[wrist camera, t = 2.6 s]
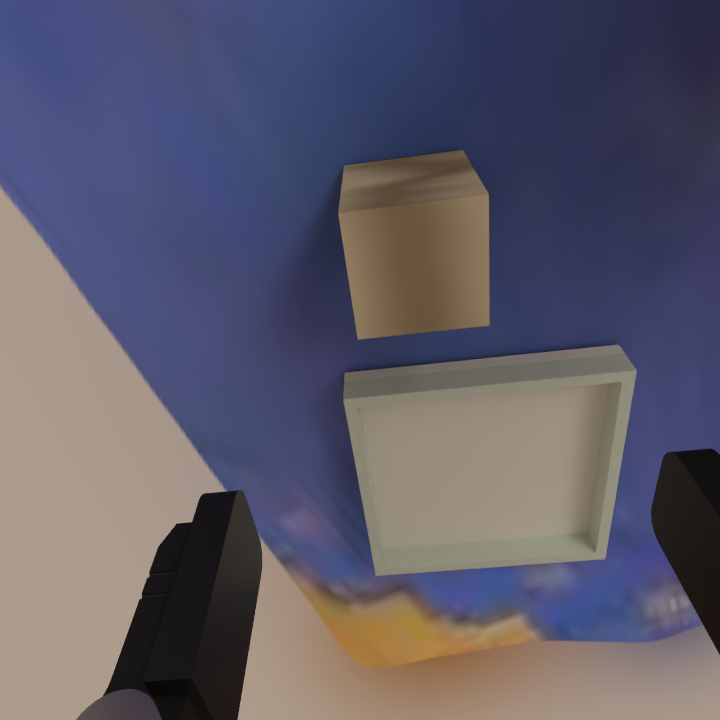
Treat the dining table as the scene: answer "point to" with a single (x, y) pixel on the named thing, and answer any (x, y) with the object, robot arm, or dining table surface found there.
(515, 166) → the dining table surface
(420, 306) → the birch block
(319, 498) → the dining table surface
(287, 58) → the dining table surface
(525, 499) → the dish
